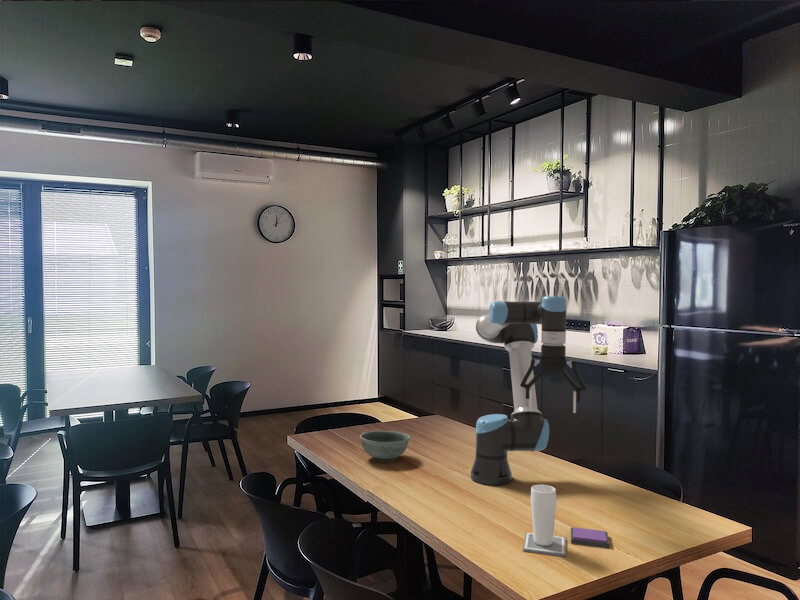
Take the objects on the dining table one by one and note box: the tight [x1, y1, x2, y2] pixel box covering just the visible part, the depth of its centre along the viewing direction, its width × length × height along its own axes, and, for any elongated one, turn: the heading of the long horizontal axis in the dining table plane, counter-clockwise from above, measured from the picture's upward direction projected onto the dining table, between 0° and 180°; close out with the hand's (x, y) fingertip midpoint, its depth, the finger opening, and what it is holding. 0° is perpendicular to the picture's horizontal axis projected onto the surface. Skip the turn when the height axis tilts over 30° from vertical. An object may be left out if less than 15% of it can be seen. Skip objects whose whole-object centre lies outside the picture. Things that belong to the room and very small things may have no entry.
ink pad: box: [570, 527, 610, 549], centre depth 161 cm, size 10×8×2 cm
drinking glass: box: [530, 484, 557, 546], centre depth 157 cm, size 7×7×15 cm
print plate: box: [522, 532, 567, 558], centre depth 157 cm, size 11×11×1 cm
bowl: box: [359, 430, 411, 463], centre depth 236 cm, size 21×21×10 cm
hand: (552, 410), depth 183 cm, fingers open, 13 cm apart
